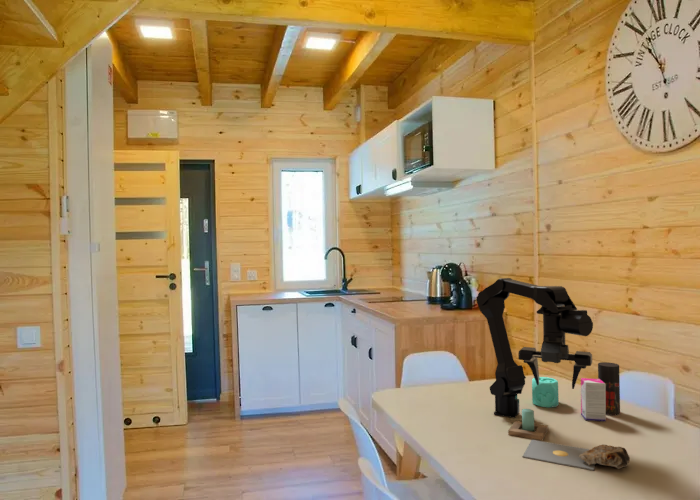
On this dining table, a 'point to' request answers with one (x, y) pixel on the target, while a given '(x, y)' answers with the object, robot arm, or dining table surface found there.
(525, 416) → the peg
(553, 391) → the decorative dice
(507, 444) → the dining table surface
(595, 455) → the rock
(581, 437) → the dining table surface
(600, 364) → the deodorant
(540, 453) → the card
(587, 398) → the supplement box
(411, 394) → the dining table surface
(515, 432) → the brown square frame
